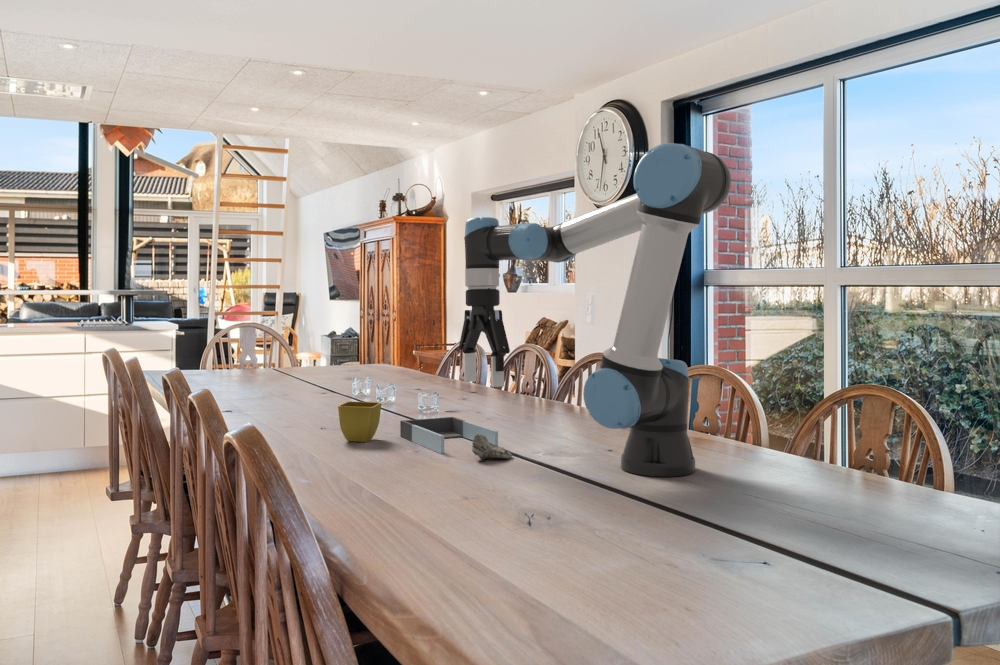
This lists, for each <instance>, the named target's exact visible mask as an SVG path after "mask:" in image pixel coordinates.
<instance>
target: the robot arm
mask: <svg viewBox="0 0 1000 665" xmlns="http://www.w3.org/2000/svg"><path fill="white" fill-rule="evenodd" d="M632 180H633V188H634V189H633V190H635V192H636V193H634V194H631V195H629V196H626V197H624V198H622V199H619V200H616V201H614V202H611V203H608V204H606V205H602V206H601V207H598V208H596V209H593V210H590V211H589V212H586V213H583V214H581V215H579V216H576V217H573V218H571V219H568V220H566V221H564V222H562V223H558V224H556V225H553V226H541V225H540V224H539V223H535V222H531V223H530V222H520V223H517V224H516V223H515V224H507V225H500V224H499V223H500V222H499V220H498V219H497V218H495V217H489V216H488V217H484V216H482V217H471V218H468V219H467V220H466V222H465V225H464V227H465V228H464V237H463V238H464V252H465V253H464V254H465V255H464V256H465V257H464V258H465V269H464V275H465V277H464V279H465V280H464V282H465V283H464V285H465V287H466V288H467V289H466V291H465V305H466V306H467V307H471V309H465V310H464V317H463V318H464V319H463V325H462V330H461V334H460V339H459V345H458V349H459V350H460V351H462V354H463V378H464V379H463V380H464V383H470V382H471V383H472V382H477V354H476V353H477V350H476V347H477V344H478V341H479V339H480V335H481V334H482V333H484V334H485V336H486V339H487V343H488V344H489V345H488V346H489V348H490V350H491V353H490V359H491V360H490V366H491V368H490V371H491V372H490V374H491V378H490V379H491V381H490V382H491V388H500V387H501V388H502V387H505V357H506V354H509V353H510V352H511V350H510V346H509V341H508V338H507V333H506V329H505V325H504V324H505V323H504V321H503V311H502V310H501V309H498V310H497V309H495V307H499V306H500V304H501V303H500V295H501V294H500V289H499V288H498V287H499V286H500V277H501V274H500V262H501V261H516V260H517V261H535V262H536V261H539V262H541V261H542V262H550V263H562V262H563V263H564V262H569V261H571V260H572V259H574V258H575V256H576V255H577V254H579V253H583V252H584V251H587V250H590V249H594V248H596V247H598V246H602V245H604V244H607V243H610V242H613V241H616V240H618V239H621V238H624V237H626V236H629V235H630V236H631V235H632V234H634V233H638V232H640V233H639V236H638V241H637V245H636V249H635V254H634V259H633V261H632V265H631V270H630V275H629V278H628V282H627V287H626V290H625V295H624V299H623V303H622V308H621V312H620V316H619V319H618V324H617V329H616V333H615V336H614V341H613V344H612V345H611V346H610V347H608V348H607V349H605V350H604V351H603V354H602V358H601V361H600V365H599V368H598V369H596V370H594V372H592V373H591V374H590V375H589V376H588V377H587V379H586V381H585V382H584V386H583V394H582V395H583V401H584V406H585V408H586V410H588V412H589V413H588V414H589V415H590V417H591V418H592V419H593V421H595V422H596V423H598V424H599V425H601V426H602V427H604V428H607V429H611V430H617V429H620V430H621V429H622V430H623V429H629V432H628V437H627V439H626V442H625V445H624V449H623V453H622V454H621V457H620V468H621V469H622V470H623V471H624V472H625V471H626V472H627V473H630V474H633V475H634V474H635V475H641V476H646V477H647V476H649V477H662V478H663V477H682V476H687V475H691V474H693V473H695V472H696V458H695V456H694V453H693V449H692V446H691V441H690V438H689V436H688V412H689V411H688V409H689V408H688V407H689V405H688V404H689V400H688V399H689V381H690V377H689V368H688V365H687V363H686V362H685V361H683V360H679V359H670V358H660V357H658V354H659V351H660V350H659V349H660V347H661V342H662V338H663V335H664V331H665V327H666V322H667V320H668V319H667V318H668V315H669V311H670V307H671V304H672V299H673V296H674V295H673V294H674V292H675V288H676V287H675V286H676V285H677V284H676V283H677V280H678V276H679V272H680V268H681V264H682V259H683V257H684V253H685V249H686V246H687V245H686V244H687V240H688V236H689V234H690V233H691V232H692V231H693V230H695V229H697V228H699V226H700V222H701V219H702V215H705V214H707V213H711V212H712V211H714V210H716V209H718V208H719V207H720V206H721V205H722V204H723V203H724V202H726V199H728V198H727V197H729V196H728V195H729V193H730V190H731V187H732V177H731V172H730V169H729V167H728V165H727V164H726V163H725V162H724V160H723V159H722V158H721V157H719V156H718V155H716V154H714V153H712V152H708V151H704V150H702V149H698V148H695V147H693V146H691V145H686V144H684V143H674V142H667V143H666V142H665V143H661V144H658V145H656V146H653V148H651V149H650V150H648V151H646V152H645V153H644V154H643V156H641V158H640V160H639V161H638V163H637V165H636V167H635V170H634V173H633V179H632Z"/></svg>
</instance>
